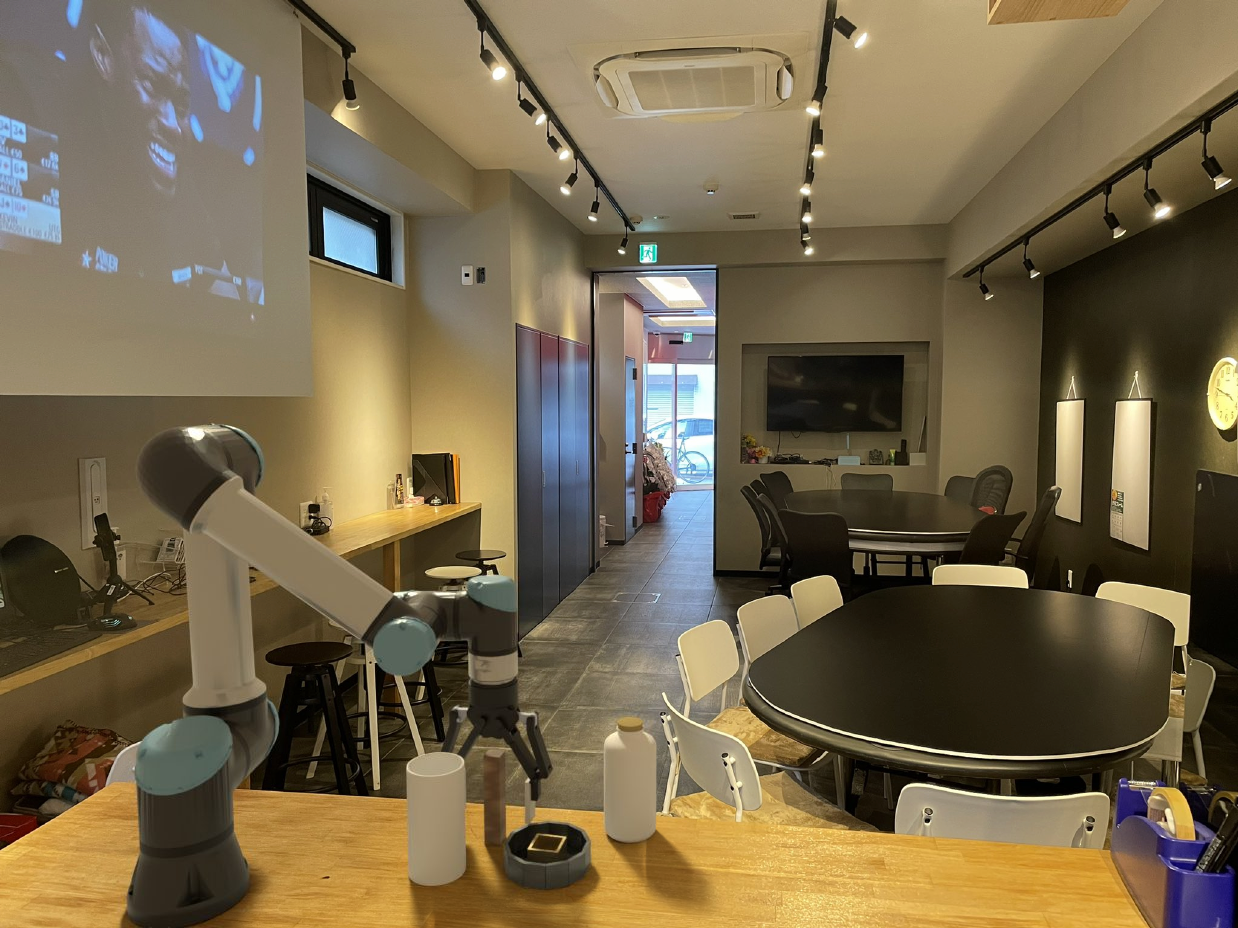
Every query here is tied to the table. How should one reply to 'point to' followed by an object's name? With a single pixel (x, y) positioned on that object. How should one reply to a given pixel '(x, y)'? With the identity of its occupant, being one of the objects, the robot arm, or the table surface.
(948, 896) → the table surface
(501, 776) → the square wooden stick
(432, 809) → the cup
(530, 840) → the bowl
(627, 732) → the potion bottle
